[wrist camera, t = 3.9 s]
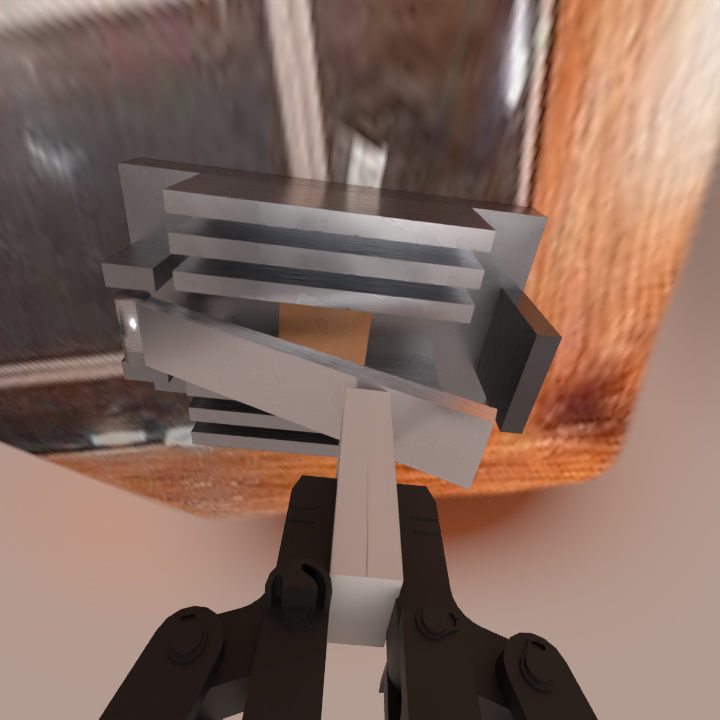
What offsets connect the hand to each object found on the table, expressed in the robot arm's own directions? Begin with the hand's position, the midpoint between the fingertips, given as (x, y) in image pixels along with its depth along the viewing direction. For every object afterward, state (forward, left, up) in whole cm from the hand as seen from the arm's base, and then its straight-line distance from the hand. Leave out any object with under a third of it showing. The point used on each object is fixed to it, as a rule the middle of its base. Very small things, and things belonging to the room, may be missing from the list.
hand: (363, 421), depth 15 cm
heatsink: (-2, 0, -10) cm, 10 cm away
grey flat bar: (-3, 0, -3) cm, 4 cm away
